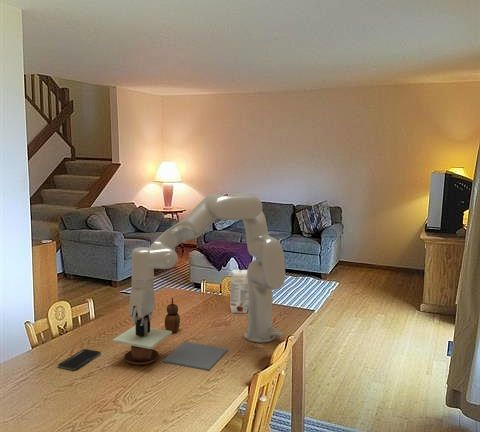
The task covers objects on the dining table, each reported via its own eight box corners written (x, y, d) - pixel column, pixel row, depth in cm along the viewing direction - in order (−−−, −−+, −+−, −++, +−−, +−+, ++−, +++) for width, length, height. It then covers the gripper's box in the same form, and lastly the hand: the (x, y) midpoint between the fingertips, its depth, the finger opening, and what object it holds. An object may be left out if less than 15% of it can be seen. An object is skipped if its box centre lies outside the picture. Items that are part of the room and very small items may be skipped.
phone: (56, 365, 166) (84, 348, 180) (56, 368, 166) (84, 351, 180) (75, 369, 163) (102, 351, 177) (75, 372, 163) (102, 354, 177)
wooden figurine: (176, 334, 196) (176, 298, 194) (162, 333, 198) (162, 297, 195) (181, 328, 203) (181, 293, 201) (168, 327, 204) (168, 292, 202)
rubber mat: (228, 350, 183) (228, 348, 183) (209, 370, 166) (209, 369, 166) (184, 342, 189) (184, 341, 189) (162, 361, 172) (162, 360, 172)
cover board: (171, 333, 177) (172, 315, 176) (150, 349, 163) (150, 329, 162) (135, 327, 181) (135, 309, 181) (112, 342, 167) (112, 323, 167)
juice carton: (248, 313, 223) (249, 273, 220) (229, 313, 223) (230, 273, 220) (248, 308, 230) (249, 269, 227) (230, 308, 230) (231, 268, 227)
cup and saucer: (165, 358, 175) (165, 342, 174) (142, 371, 165) (142, 353, 164) (141, 350, 181) (141, 334, 180) (117, 362, 171) (116, 345, 170)
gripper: (145, 276, 178) (145, 324, 181) (120, 288, 163) (120, 340, 165) (163, 278, 176) (163, 327, 178) (139, 290, 160) (139, 344, 163)
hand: (142, 333), depth 172 cm, fingers closed on cover board, 3 cm apart
